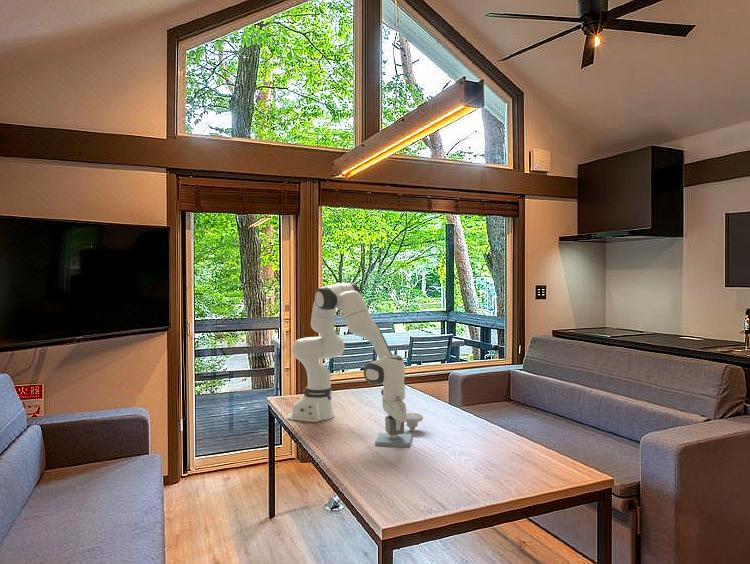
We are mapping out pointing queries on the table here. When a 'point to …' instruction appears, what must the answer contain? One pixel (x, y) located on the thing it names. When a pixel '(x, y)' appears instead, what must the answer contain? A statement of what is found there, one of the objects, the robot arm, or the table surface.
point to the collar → (393, 426)
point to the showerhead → (413, 420)
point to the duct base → (393, 440)
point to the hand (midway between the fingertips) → (394, 427)
